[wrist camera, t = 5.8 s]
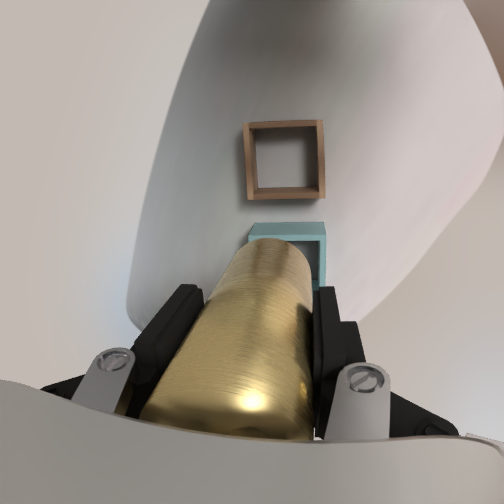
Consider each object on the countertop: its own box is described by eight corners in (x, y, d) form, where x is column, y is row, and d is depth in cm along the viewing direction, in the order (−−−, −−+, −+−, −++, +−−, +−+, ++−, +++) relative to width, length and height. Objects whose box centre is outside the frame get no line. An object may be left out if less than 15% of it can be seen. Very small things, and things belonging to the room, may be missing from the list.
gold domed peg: (226, 237, 15) (117, 377, 6) (311, 237, 14) (321, 398, 5) (232, 312, 16) (161, 476, 7) (310, 314, 16) (306, 495, 6)
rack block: (254, 222, 31) (248, 235, 27) (323, 222, 30) (326, 234, 26) (258, 284, 33) (253, 303, 29) (322, 284, 32) (324, 303, 28)
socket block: (248, 124, 27) (242, 123, 25) (320, 121, 26) (322, 119, 23) (253, 193, 30) (247, 199, 27) (323, 192, 29) (325, 198, 26)
